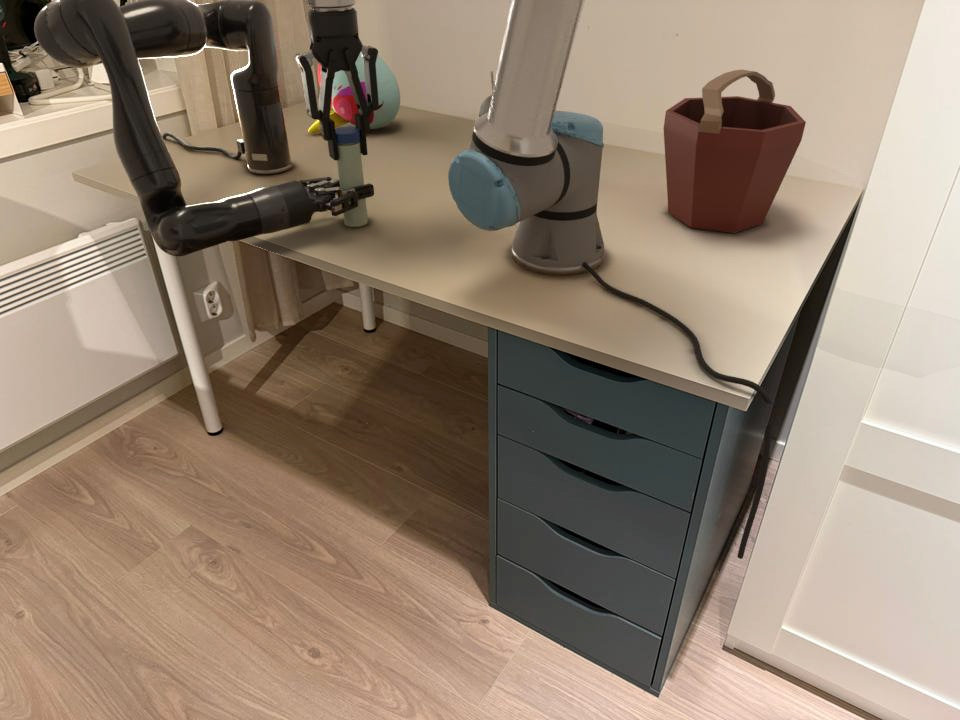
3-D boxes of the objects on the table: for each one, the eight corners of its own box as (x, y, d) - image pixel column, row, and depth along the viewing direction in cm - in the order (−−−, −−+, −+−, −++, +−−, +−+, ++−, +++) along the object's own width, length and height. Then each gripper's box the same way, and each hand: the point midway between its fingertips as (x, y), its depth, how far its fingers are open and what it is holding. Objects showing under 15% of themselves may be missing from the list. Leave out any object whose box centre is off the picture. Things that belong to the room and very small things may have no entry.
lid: (328, 142, 120) (327, 133, 119) (340, 134, 124) (339, 125, 123) (353, 145, 119) (352, 135, 118) (364, 137, 123) (363, 127, 122)
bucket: (710, 250, 119) (740, 96, 105) (622, 208, 134) (638, 69, 120) (804, 218, 129) (843, 75, 115) (713, 183, 145) (736, 53, 131)
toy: (277, 110, 181) (275, 51, 163) (352, 72, 191) (358, 13, 173) (336, 175, 178) (341, 122, 160) (410, 134, 188) (421, 79, 170)
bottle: (346, 217, 132) (335, 130, 123) (369, 217, 132) (360, 130, 123) (342, 227, 128) (331, 137, 119) (366, 226, 128) (356, 137, 119)
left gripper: (292, 198, 113) (384, 175, 121) (256, 175, 122) (344, 155, 131) (299, 242, 117) (388, 216, 125) (264, 215, 126) (349, 194, 135)
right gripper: (375, 0, 116) (386, 142, 129) (269, 9, 109) (292, 157, 122) (393, 6, 111) (403, 153, 124) (283, 15, 104) (306, 170, 117)
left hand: (365, 185), depth 128 cm, fingers closed on bottle, 4 cm apart
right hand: (348, 155), depth 123 cm, fingers closed on lid, 5 cm apart
